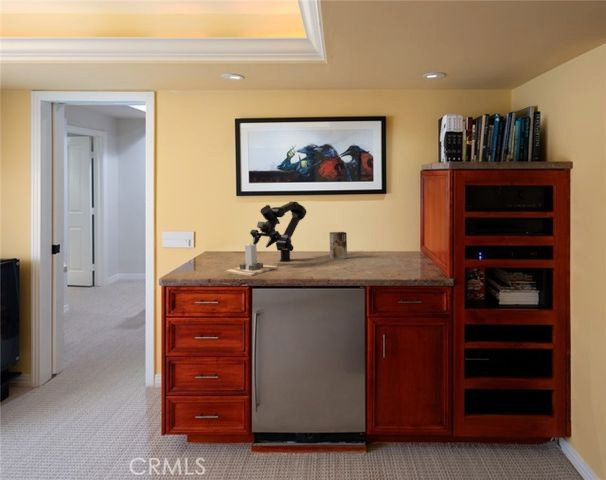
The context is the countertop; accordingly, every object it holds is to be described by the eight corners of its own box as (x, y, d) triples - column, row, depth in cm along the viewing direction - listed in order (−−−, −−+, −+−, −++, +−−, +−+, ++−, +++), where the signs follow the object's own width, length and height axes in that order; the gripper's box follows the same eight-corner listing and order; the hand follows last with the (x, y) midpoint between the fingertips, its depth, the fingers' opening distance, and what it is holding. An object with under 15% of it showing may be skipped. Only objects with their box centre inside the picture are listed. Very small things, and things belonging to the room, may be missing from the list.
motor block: (251, 267, 264) (250, 242, 262) (257, 268, 261) (256, 243, 260) (244, 269, 258) (243, 244, 257) (250, 270, 256) (249, 244, 254)
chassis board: (252, 265, 276) (251, 259, 275) (277, 267, 266) (277, 261, 266) (224, 272, 255) (224, 266, 255) (250, 275, 246) (250, 269, 245)
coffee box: (343, 256, 298) (343, 231, 296) (347, 258, 292) (347, 232, 290) (329, 257, 296) (329, 232, 294) (333, 259, 290) (332, 233, 288)
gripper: (251, 215, 273) (239, 237, 265) (277, 216, 263) (266, 238, 255) (260, 227, 281) (249, 249, 273) (286, 229, 271) (275, 251, 263)
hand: (259, 246), depth 266 cm, fingers open, 9 cm apart
